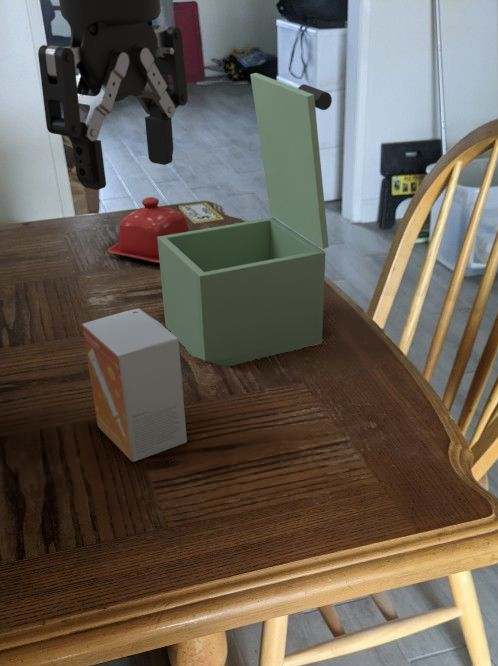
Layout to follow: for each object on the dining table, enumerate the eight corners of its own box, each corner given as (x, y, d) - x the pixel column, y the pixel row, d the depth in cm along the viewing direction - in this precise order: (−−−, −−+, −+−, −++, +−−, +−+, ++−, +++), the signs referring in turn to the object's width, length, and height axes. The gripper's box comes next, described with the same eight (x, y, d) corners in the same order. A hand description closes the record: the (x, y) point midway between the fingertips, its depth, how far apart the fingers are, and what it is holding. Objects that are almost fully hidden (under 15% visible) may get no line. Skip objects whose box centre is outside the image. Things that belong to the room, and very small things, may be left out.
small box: (98, 437, 81) (79, 322, 74) (152, 418, 84) (139, 306, 76) (133, 475, 76) (117, 355, 68) (190, 453, 79) (180, 336, 71)
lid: (307, 96, 80) (351, 83, 81) (250, 74, 90) (289, 63, 91) (322, 249, 90) (361, 235, 92) (270, 214, 100) (305, 202, 102)
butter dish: (103, 258, 121) (96, 202, 116) (148, 235, 129) (142, 182, 124) (163, 271, 117) (158, 214, 112) (206, 247, 125) (203, 193, 120)
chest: (205, 372, 92) (199, 276, 85) (165, 326, 102) (157, 236, 95) (322, 344, 98) (325, 252, 91) (273, 303, 108) (273, 217, 101)
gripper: (130, -61, 63) (149, 150, 73) (-8, -53, 54) (35, 189, 63) (204, -59, 60) (213, 162, 70) (71, -49, 50) (103, 205, 60)
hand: (128, 174), depth 67 cm, fingers open, 8 cm apart
